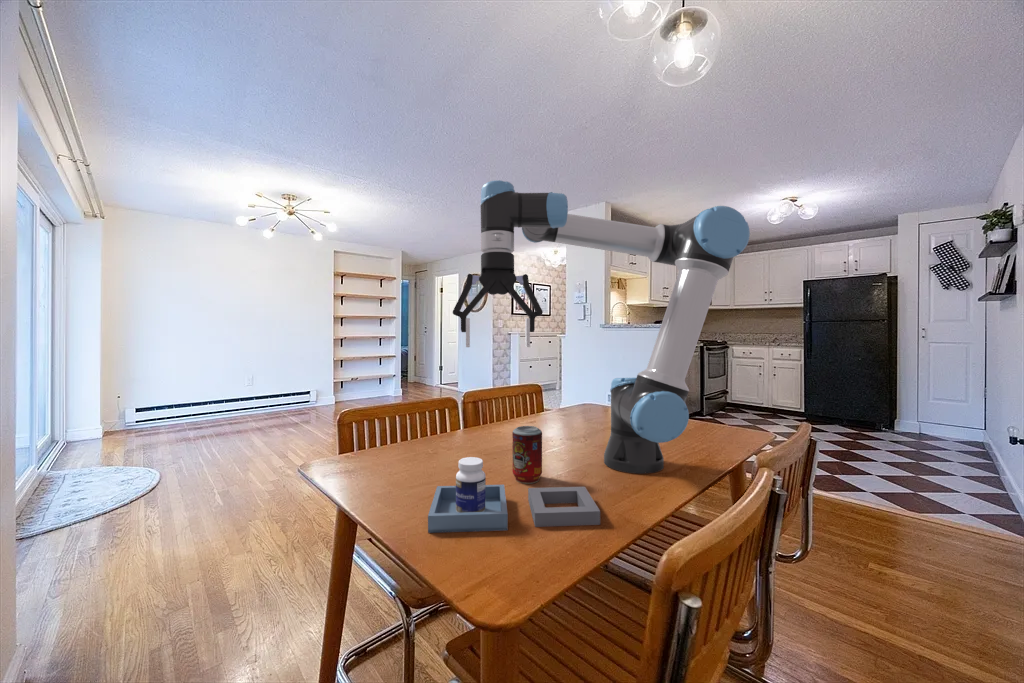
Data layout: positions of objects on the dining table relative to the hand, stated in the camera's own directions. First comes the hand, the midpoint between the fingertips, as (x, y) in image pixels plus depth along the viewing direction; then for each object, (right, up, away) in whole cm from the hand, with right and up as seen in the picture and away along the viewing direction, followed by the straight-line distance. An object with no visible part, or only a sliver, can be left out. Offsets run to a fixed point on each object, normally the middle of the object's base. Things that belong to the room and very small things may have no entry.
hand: (497, 347), depth 95 cm
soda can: (+7, -32, +4) cm, 33 cm away
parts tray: (-5, -32, -14) cm, 36 cm away
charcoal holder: (+13, -32, -13) cm, 37 cm away
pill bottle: (-5, -32, -14) cm, 35 cm away
